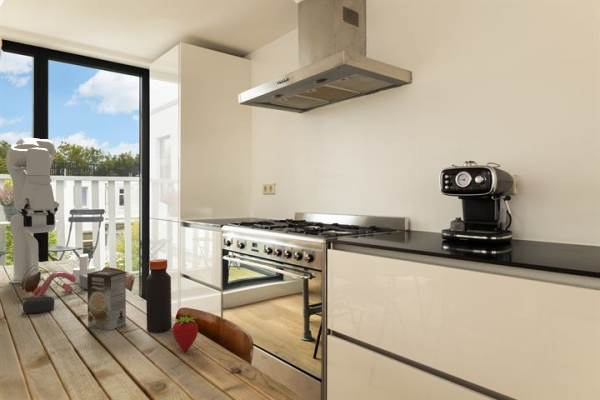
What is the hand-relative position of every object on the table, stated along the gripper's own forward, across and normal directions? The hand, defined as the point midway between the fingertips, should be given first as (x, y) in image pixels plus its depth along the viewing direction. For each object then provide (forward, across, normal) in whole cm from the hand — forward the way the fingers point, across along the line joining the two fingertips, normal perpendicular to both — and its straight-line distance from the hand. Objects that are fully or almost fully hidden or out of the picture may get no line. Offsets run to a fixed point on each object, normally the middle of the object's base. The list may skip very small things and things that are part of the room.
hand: (39, 225), depth 145 cm
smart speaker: (+28, +12, +13) cm, 34 cm away
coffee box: (+29, +21, +47) cm, 59 cm away
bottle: (+29, +21, +64) cm, 74 cm away
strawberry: (+29, +34, +80) cm, 92 cm away
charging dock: (+28, -17, +5) cm, 33 cm away
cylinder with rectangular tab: (+28, -30, -8) cm, 42 cm away
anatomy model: (+28, -6, -3) cm, 29 cm away
